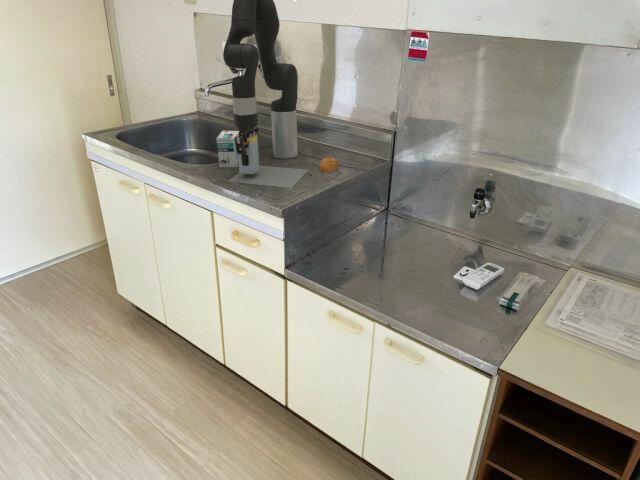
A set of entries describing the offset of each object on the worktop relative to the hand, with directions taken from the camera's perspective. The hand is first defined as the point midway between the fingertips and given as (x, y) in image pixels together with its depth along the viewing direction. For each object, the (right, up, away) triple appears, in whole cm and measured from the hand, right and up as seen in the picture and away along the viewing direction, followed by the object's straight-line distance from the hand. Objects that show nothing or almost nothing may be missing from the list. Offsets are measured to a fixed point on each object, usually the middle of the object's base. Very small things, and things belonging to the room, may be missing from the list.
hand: (249, 162), depth 159 cm
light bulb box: (-9, +2, +16) cm, 18 cm away
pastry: (+27, -1, +9) cm, 28 cm away
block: (0, -3, +1) cm, 3 cm away
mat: (+6, -4, +3) cm, 8 cm away
